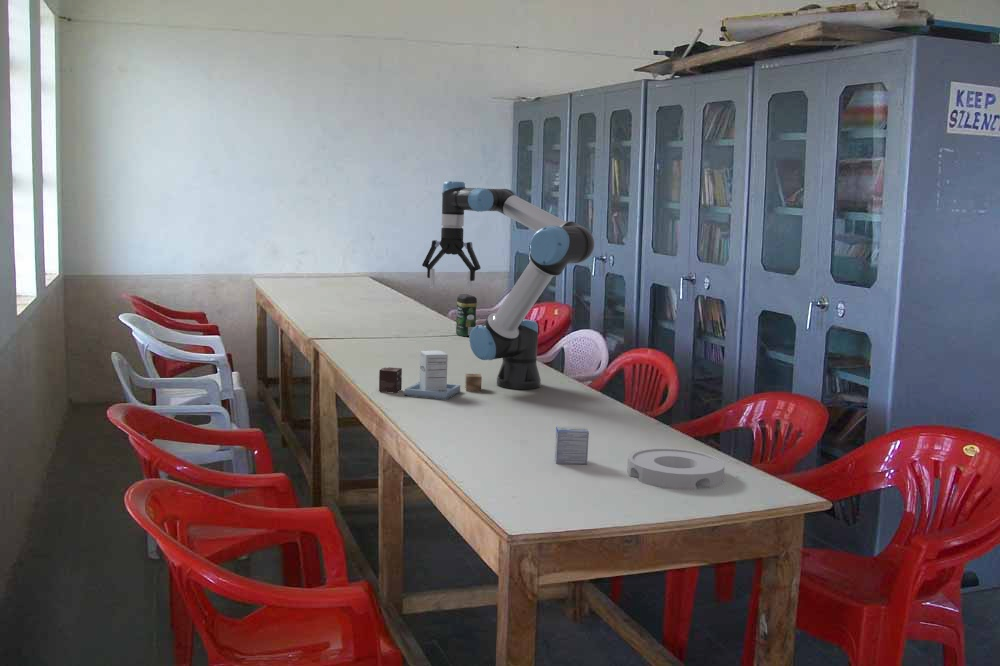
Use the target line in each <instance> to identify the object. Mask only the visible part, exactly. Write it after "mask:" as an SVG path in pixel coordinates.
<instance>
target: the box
mask: <svg viewBox="0 0 1000 666" xmlns="http://www.w3.org/2000/svg"><path fill="white" fill-rule="evenodd" d="M378 375H379V376H378V382H379V383H378V392H379V391H380V393H388V392H393V394H397V393H399V392H400V391H402V390H401V389H402V384H403V383H402V379H403V378H402V377H403V368H401V367H390V366H388V367H386V366H385V367H381V369H379V374H378ZM398 391H399V392H398Z"/></svg>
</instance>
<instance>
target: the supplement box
mask: <svg viewBox="0 0 1000 666" xmlns="http://www.w3.org/2000/svg"><path fill="white" fill-rule="evenodd" d="M419 357H420V360H419V362H420V363H419V382H420V389H422V390H426V391H437V392H446V390H447V384H448V381H447V380H448V360H449V359H448V357H449V356H448V354H447V353H446V352H444V351H442V350H420V356H419Z"/></svg>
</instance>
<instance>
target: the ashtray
mask: <svg viewBox="0 0 1000 666" xmlns="http://www.w3.org/2000/svg"><path fill="white" fill-rule="evenodd" d="M626 467H627V468H626V472H627V474H628V476H629V477H631V478H638V482H640V483H642V484H646V485H649V486H653V487H659V488H663V489H673V490H681V491H683V490H684V491H686V490H687V491H688V490H689V491H694V490H696V489H697V488H698V487H701V488H706V489H712V488H715V487H719V486H720V485H722V484H723V483H724V479H725V462H724V461H723V460H722V459H720V458H718V457H716V456H714V455H712V454H709V453H706V452H701V451H697V450H691V449H686V448H676V447H675V448H674V447H649V448H643V449H638V450H634V451H632V452H630V453H629V454H628V455H627V466H626Z"/></svg>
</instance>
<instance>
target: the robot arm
mask: <svg viewBox="0 0 1000 666" xmlns="http://www.w3.org/2000/svg"><path fill="white" fill-rule="evenodd" d="M441 197H442V202H441V226H443V227H441V229H440V230H441V231H440V233H441V235H440V237H441V238H440V241H439V240H437V239H436V240H435V239H434V240H432V241H431V247H430V248H429V250H428V252H427V255H426V256H425V258H424V260H423V262H422V267H424V268H426V270H427V273H426V275H427V279H429V289H434V288H435V277H436V276H435V273H436V272H435V270H436V268H434V267H435V266H436V264H437V263H438V262H439V261H440V260H441V258H442V257H444V255H452V256H454V255H457V256H458V257H460V259H461V260H462V262H463V263H464V264H465V266H466V267H467V269H468V270H469V271H467V284H466V285H467V286H466V289H467V290H466V291H467V292H468V291H472V290H473V289H472V288H473V282H475V279H476V271H479V270H481V265H480V263H479V261H478V258H477V256H476V253H475V251H474V248H473V242H472V241H468V242H464V228H463V226H464V221H465V220H464V219H465V211H470V212H471V211H472V212H478V213H479V212H481V213H482V212H498V213H500V214H501V215H503V216H506V217H508V218H510V219H511V220H513V221H516V222H517V223H519V224H520V225H523V226H525V227H526V228H528V229H530V230H532V231H533V232H535V233H534V234H533V235H532V238H531V239H530V243H529V246H530V248H529V255H528V257H529V260H530V261H529V263H528V264H527V266H526V268H525V269H524V270H523V272H522V273H521V274H520V277H518V279H517V281H516V283H515V284H514V286H513V287H512V288H511V290H510V292H509V293H508V294H507V296H506V298H505V299H504V300H503V302H502V304H501V305H500V307H499V308H498V309H497V311H496V312H492V313H490V314H489V315H488V317H487V318H486V319H485V321H484V323H483V324H476V326H475V327H474V328H473V329H472V330H471V333H470V337H468V338H469V346H470V349H471V351H472V353H473V355H474V356H475V357H476V358H477V359H479V360H482V361H493V360H498V359H499V360H500V359H502V363H501V365H500V369H499V371H498V374H497V376H496V385H497V386H498V387H501V388H505V389H513V390H533V389H537V388H540V387H541V386H542V385H541V383H542V382H541V381H542V380H541V379H542V378H541V376H540V372H539V369H538V365H537V357H538V355H537V354H538V340H539V339H538V337H539V325H538V322H537V321H535V320H531V319H525V318H526V316H527V315H528V313H529V312H530V311H531V310H532V307H534V304H536V302H537V300H539V298H540V297H541V295H542V293H543V291H544V290H545V289H546V287H547V286H548V285H549V283H550V282H551V281H552V279H553V277H558V276H560V275H561V274H562V272H564V270H565V269H566V267H567V266H568V264H580V263H582V262H585V261H586V260H587V259H588V258H589V257H590V256H591V255H592V254H593V251H594V249H595V239H594V236H593V234H592V233H591V231H589V229H587V228H586V226H585V227H584V226H583V225H580V224H578V223H577V222H574V221H573V220H570V221H569V220H568V221H567V220H566V221H565V220H563V219H562V218H560V217H558V216H556V215H554V214H552V213H551V212H548V211H546V210H544V209H542V208H540V207H538V206H537V205H534V204H533V203H531V202H529V201H527V200H525V199H523V198H521V197H519V196H518V194H517V192H516V191H515V190H513V189H509V188H486V187H485V188H483V187H477V188H476V187H466V183H465V182H464V181H455V180H453V181H451V180H445V181H444V182H443V184H442V192H441ZM438 247H440V250H439V251H438V253H437V255H436V256H435V257H434V258H433V256H434V254H435V253H436V252H435V251H436V250H437V248H438ZM464 247H465V250H467V252H468V255H469V257H470V259H469V258H468V257H467V255H466V254H465V252H464V250H463V248H464ZM432 258H433V259H432ZM431 259H432V260H431ZM470 260H471V261H470Z"/></svg>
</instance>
